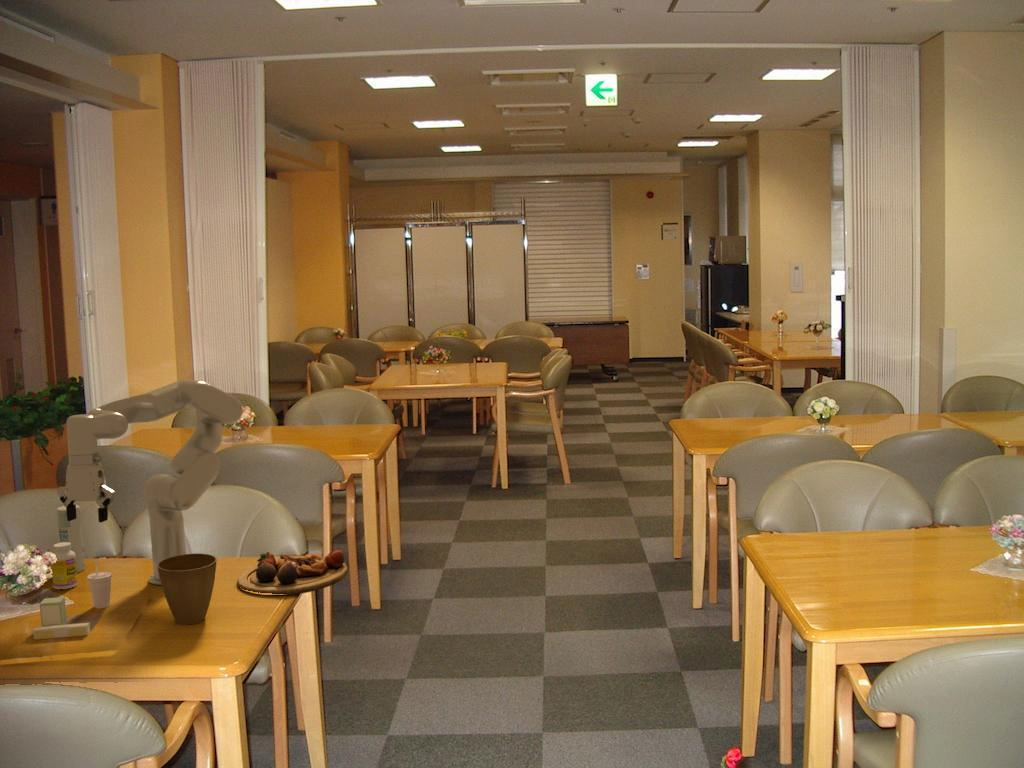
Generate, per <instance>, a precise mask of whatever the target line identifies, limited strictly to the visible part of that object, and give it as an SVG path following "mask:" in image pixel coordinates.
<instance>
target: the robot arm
mask: <svg viewBox="0 0 1024 768" xmlns="http://www.w3.org/2000/svg"><path fill="white" fill-rule="evenodd" d="M186 409H191V410H195V417H196V427H195V430H194V432H193V433H192V435H191V436H190V438H188V440H187V441H186V442H184V443H185V444H183V446H182V447H181V448H180V449H179V450H178V451H177V452H176V454H175V455H174V456H173V457H172V460H171V462H170V470H171V471H172V473H173V474H174V475H171V474H166V473H164V474H163V473H162V474H161V473H160V474H159V473H158V474H155V475H153V476H151V477H150V478H149V479H148V480H147V481H146V483H145V485H144V488H143V498H144V501H145V505H146V508H147V512H148V519H149V530H150V543H151V556H152V565H153V566H152V567H153V573H151V574H150V575H149V576H148V582H149V584H152V585H157V586H162V585H161V581H160V577H159V572H158V567H157V564H158V563H159V562H160V561H161V560H163V559H166V558H169V557H173V556H177V555H184V554H187V548H186V547H187V546H186V535H185V523H184V522H185V521H184V515H183V511H187V510H188V509H191V508H192V507H194V505H195V504H196V503H197V502H198V501H199V500H200V499H201V497H203V495H204V494H205V493H206V491H207V490H208V489H209V488H210V487H211V485H212V484H213V483H214V481H215V480H216V478H218V475H219V473H220V472H219V471H220V470H221V469H220V468H221V463H220V458H219V457H218V455H217V454H216V453H215V452H216V451H217V450H218V448H219V447H220V445H221V443H222V439H223V431H222V430H223V429H222V424H223V425H233V424H235V423H237V422H238V421H239V420H240V419H241V417H242V415H243V406H242V403H241V402H240V400H239V399H238V398H237V397H235V395H234V396H233V395H232V394H229V393H227V392H226V391H224V390H222V389H220V388H218V387H216V386H214V385H212V384H210V383H208V382H206V381H203V380H194V379H181V380H177V381H174V382H172V383H169V384H167V385H164V386H162V387H158V388H157V389H154V390H151V391H149V392H146V393H141V394H138V395H134V396H129V397H126V398H122V399H118V400H114V401H110V402H108V403H105V404H103V405H100V406H98V407H95V408H93V409H91V410H89V411H88V412H87V413H85V414H84V413H83V414H73V415H70V416H69V417H67V420H66V435H67V436H66V437H67V450H68V453H67V454H68V465H67V466H66V472H65V485H64V486H62V487H61V488H58V489H57V490H56V494H57V495H58V497H59V500H60V502H61V503H62V504H63V506H65V507H66V513H67V521H71V520H74V519H76V518H77V517H76V505H77V504H75V502H78V501H79V502H94V503H96V504H97V505H98V509H97V515H98V517H97V518H98V522H99V523H103V522H106V521H108V519H109V518H108V517H109V512H108V511H109V509H108V507H109V506H110V505H111V503H112V502H113V500H114V497H115V495H116V491H115V490H113V489H112V488H110V487H108V486H107V481H106V480H107V479H106V475H105V471H104V467H103V464H102V463H101V461H102V460H103V456H101V455H99V454H100V453H99V445H98V440H99V439H100V440H103V439H104V440H106V439H109V440H112V439H114V440H115V439H118V438H120V437H122V436H124V435H125V434H126V432H127V431H128V428H129V424H139V423H149V422H155V421H156V422H157V421H159V420H162V419H164V418H166V417H169V416H171V415H174V414H176V413H179V412H180V411H183V410H186Z"/></svg>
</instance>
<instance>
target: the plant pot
mask: <svg viewBox="0 0 1024 768" xmlns="http://www.w3.org/2000/svg"><path fill="white" fill-rule="evenodd" d="M217 562H218V561H217V557H216V556H214V555H213V554H208V553H186V554H184V555H177V556H173V557H169V558H166V559H163V560H161V561H160V562H159V563H158V564H157V567H158V572H159V577H160V581H161V585H160V586H161V588H162V592H163V594H164V597H165V600H166V602H167V605H168V608H169V610H170V612H171V614H172V617H173V618H174V620H175V622H176V623H177V624H179V625H183V624H188V625H194V624H193V623H195V624H198V623H197V622H199V623H201V622H203V621H204V620H205V619H206V616H207V614H208V610H209V607H210V605H211V604H210V603H211V599H212V595H213V591H214V586H215V579H216V578H215V577H216V573H217V572H216V571H217ZM202 620H203V621H202ZM200 621H201V622H200Z"/></svg>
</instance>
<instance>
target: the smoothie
mask: <svg viewBox="0 0 1024 768" xmlns="http://www.w3.org/2000/svg"><path fill="white" fill-rule="evenodd" d="M94 565H95V572H93V573H90V574H88V575H87V576H86V581H87V582H88V585H89V589H90V593H91V598H92V602H93V607H94V608H95V609H105V608H107V607H110V605H111V587H112V578H113V574H112V572H109V571H99V567H98V559H94Z"/></svg>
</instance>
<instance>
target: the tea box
mask: <svg viewBox="0 0 1024 768" xmlns="http://www.w3.org/2000/svg"><path fill="white" fill-rule="evenodd" d="M39 610H40V612H39V613H40V619H41V627H42V626H54V625H66V623H67V617H66V616H67V607H66V597H65V596H61V597H47V598H43V600H42V601H40V603H39Z"/></svg>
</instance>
